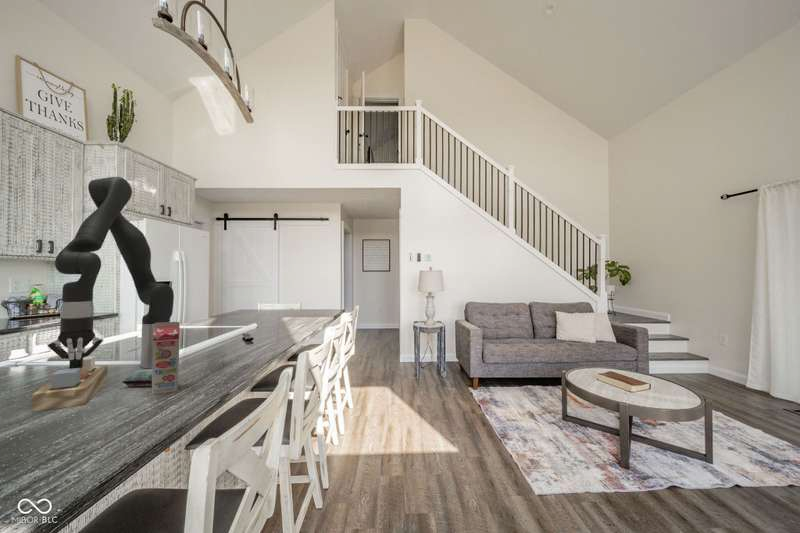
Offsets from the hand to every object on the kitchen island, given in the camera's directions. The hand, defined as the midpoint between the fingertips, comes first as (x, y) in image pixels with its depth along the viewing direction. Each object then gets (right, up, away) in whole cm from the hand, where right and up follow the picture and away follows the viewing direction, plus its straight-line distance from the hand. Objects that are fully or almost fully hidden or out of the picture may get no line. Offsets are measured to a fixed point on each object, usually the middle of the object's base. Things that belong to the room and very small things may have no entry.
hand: (75, 370), depth 106 cm
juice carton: (+25, -8, +5) cm, 26 cm away
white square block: (-4, -2, +7) cm, 8 cm away
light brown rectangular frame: (0, -7, 0) cm, 7 cm away
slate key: (+4, -2, -7) cm, 8 cm away
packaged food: (+15, -8, +10) cm, 20 cm away
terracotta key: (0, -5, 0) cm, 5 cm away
